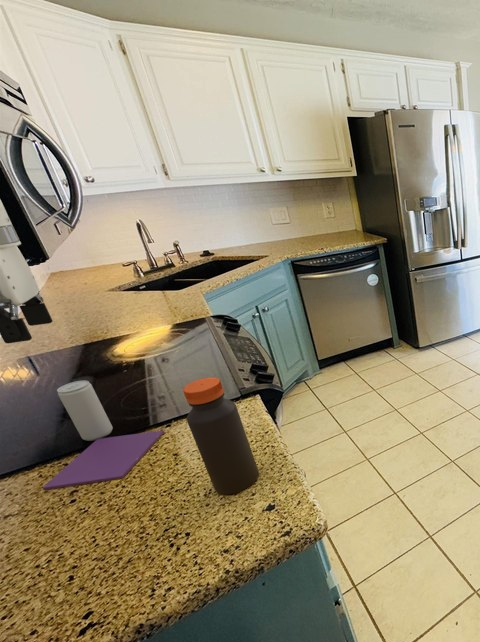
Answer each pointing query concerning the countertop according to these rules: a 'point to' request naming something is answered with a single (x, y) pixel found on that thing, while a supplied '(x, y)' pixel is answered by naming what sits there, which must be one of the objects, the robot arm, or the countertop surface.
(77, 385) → the beverage can
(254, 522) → the countertop surface
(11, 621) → the countertop surface
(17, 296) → the robot arm
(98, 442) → the cloth
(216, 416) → the bottle
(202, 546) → the countertop surface
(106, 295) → the countertop surface
